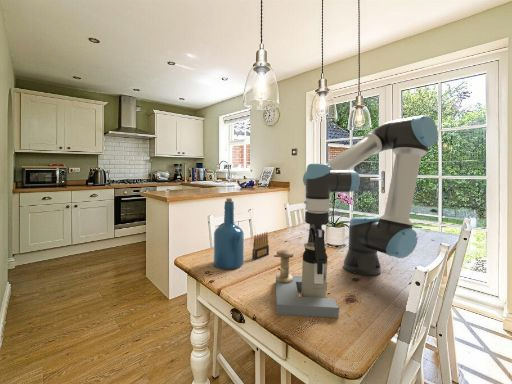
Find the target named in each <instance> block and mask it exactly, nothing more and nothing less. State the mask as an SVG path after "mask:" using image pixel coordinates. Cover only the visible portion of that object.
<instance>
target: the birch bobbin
mask: <svg viewBox="0 0 512 384" xmlns="http://www.w3.org/2000/svg"><path fill="white" fill-rule="evenodd" d="M276 256H277V257H278V258H280V273H278V274H275V281H276V280H277V281H278V282H281V283H290V282H292V281H293V277H292V276H291V275H292V274H289V273H290V259H291V258H293V257H294V252H293V251H292V250H287V249H281V250H276Z"/></svg>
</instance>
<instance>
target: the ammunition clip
mask: <svg viewBox="0 0 512 384" xmlns="http://www.w3.org/2000/svg"><path fill="white" fill-rule="evenodd" d="M252 246H253V248H252V255H251V260H252V261H253V260H254V261H257V260H260V259H262V258H265V257H268V256H269V254H270V251H269V250H270V246H269V233H268V231H266V232H264V233H263V232H261V233H259V234H257V235H256V234H255V235H254V238H253V245H252Z"/></svg>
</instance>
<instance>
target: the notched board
mask: <svg viewBox="0 0 512 384" xmlns="http://www.w3.org/2000/svg"><path fill="white" fill-rule="evenodd" d="M290 275H291V276H292V277H293V281H292V282H290V283H281V282H278V281H277V280H276V279H275V302H276V303H275V305H276V307H275V308H276V315H283V316H300V317H301V316H303V317H317V318H321V317H322V318H336V319H337V318H338V319H339V315H340V314H339V312H340V307H339V305H338V303H337V301H336V299H335V298H334V297H333V298H332V297H326V298H315V297H301V296H299V291H302V275H295V274H294V275H293V274H290ZM327 291H328V283H327V281H326V292H327Z"/></svg>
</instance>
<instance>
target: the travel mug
mask: <svg viewBox="0 0 512 384" xmlns="http://www.w3.org/2000/svg"><path fill="white" fill-rule="evenodd" d="M303 247H304V251H303V253H302V265H301V266H302V267H301V270H302V271H301V276H302V290H301V295H300V297H315V298H327V291H326V282H327V281H328V280H327V278H328V276H327V275H328V272H327V271H328V255H327V252H326V251H327V249H328V246H327V245H325V257H326V264H324V281H323V284H314V267H315V263H313V261H316V260H315V249H314V243H308V242H305V243H304V245H303ZM321 260H322V259H321Z"/></svg>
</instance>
